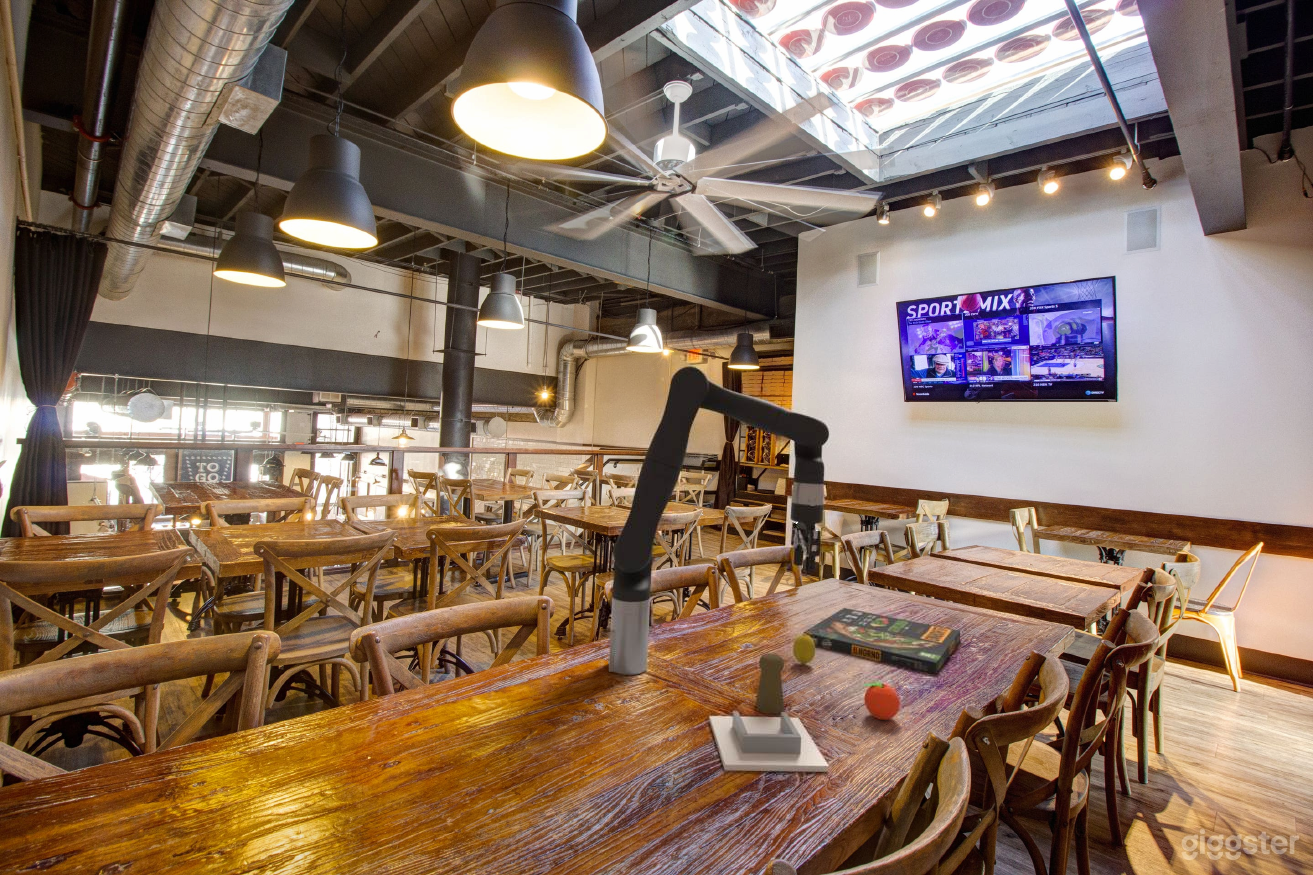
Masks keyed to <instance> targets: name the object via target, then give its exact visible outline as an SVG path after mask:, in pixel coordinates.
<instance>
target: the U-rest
mask: <svg viewBox="0 0 1313 875" xmlns="http://www.w3.org/2000/svg"><path fill="white" fill-rule="evenodd" d="M708 718H709V719H708V720H709V721H708V722H709V725H710V727H711V731H712V733H713V737H714V740H715V743H716V744H715V745H716V748H717V750H718V754H719V757H720V759H721V764H722V767H723V769H724V771H738V772H739V771H743V772H745V771H746V772H747V771H749V772H752V771H753V772H755V771H756V772H812V773H814V772H817V773H818V772H821V773H822V772H824V773H829V770H830V765H829V764H828V762H827V761H826V760H825V758H824V756H823V754H822V753H821V751H820V749H819V748H818V746H817V745H816V743H815V742H814V741H813V739H812V737H811V736H810V734H809V733H808V731H807V730H806V728H805V726H804V725H803V724H802V723H803V722H801V720H800V718H799V717H790V716H789V714H788V713H787V711H782V712H780V717H779V716H778V717H777V716H773V717H772V716H741V714H740V713H739V711H738V710H732V716H731V715H730V716H727V715H726V716H725V715H724V716H723V715H722V716H721V715H709V717H708Z"/></svg>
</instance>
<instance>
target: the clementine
mask: <svg viewBox="0 0 1313 875" xmlns="http://www.w3.org/2000/svg"><path fill="white" fill-rule="evenodd" d="M868 686H869V687H868ZM865 687H868V688H867V689H866V692H865V693H864V696H863V698H864V705H865V707H866V708H865V709H866V710H867V711H868V713H869V714H870V715H871V716H873V718H876V719H879V720H883V721H888V720H890V719H893V718H894V717H896V715H897V714H898V712H900V706H901V701H900V699H899V695H898V693H897V692H896V690H894V688H893V687H891V686H890V685H888V684H885V683H881V682H879V683H876V682H872V683H868V684H865V685H863V686H862V688H860V690H859V692H861V691H862V689H864V688H865Z"/></svg>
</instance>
